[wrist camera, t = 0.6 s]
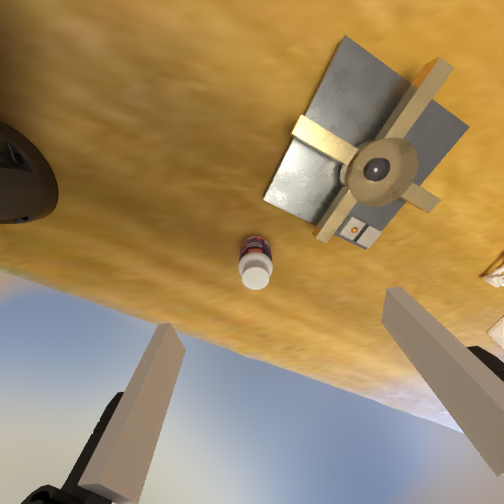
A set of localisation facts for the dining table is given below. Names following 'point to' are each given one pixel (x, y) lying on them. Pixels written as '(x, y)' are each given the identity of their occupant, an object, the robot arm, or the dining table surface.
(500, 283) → the figurine
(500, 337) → the big headed doll
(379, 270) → the dining table surface
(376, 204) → the four spoke knob plate
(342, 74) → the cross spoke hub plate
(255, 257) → the pill bottle
